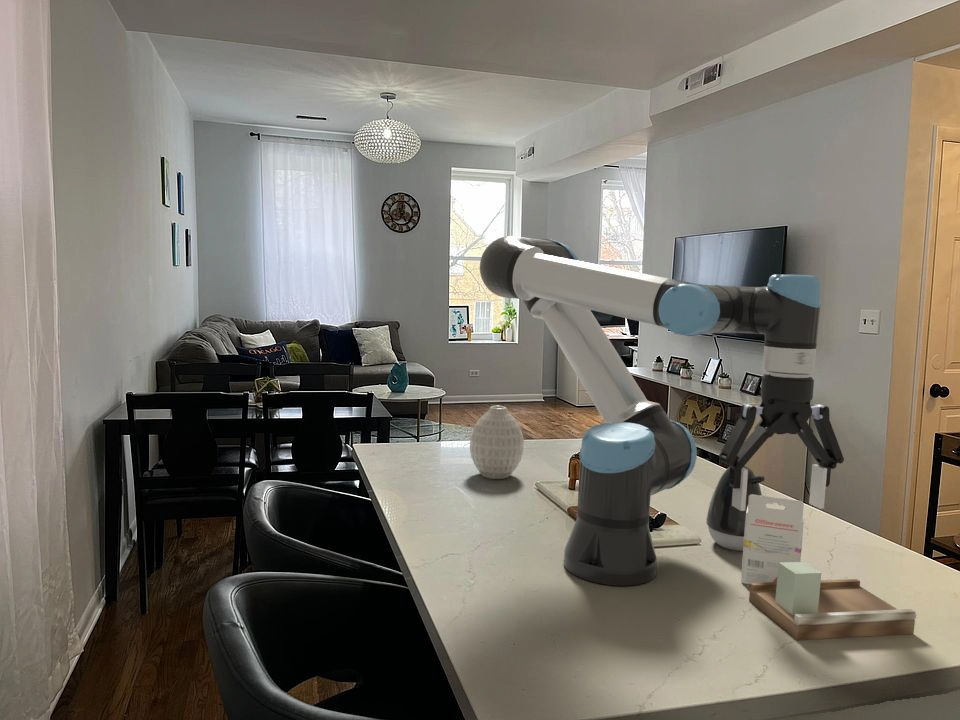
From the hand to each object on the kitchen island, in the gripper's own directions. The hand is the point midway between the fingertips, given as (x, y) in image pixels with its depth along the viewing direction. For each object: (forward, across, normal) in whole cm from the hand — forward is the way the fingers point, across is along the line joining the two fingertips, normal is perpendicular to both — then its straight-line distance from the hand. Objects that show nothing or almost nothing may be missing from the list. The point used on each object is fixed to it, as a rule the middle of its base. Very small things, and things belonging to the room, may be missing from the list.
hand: (777, 507), depth 115 cm
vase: (+12, -32, +64) cm, 73 cm away
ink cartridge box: (+13, 0, 0) cm, 13 cm away
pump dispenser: (+13, +3, +16) cm, 21 cm away
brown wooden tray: (+13, +2, -12) cm, 17 cm away
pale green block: (+11, -4, -13) cm, 17 cm away
